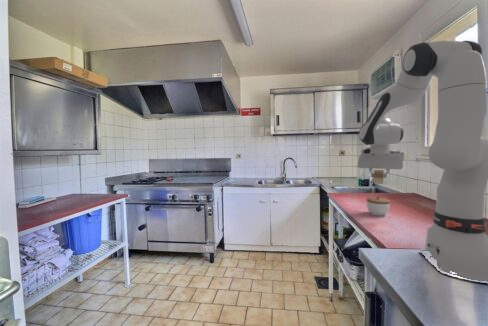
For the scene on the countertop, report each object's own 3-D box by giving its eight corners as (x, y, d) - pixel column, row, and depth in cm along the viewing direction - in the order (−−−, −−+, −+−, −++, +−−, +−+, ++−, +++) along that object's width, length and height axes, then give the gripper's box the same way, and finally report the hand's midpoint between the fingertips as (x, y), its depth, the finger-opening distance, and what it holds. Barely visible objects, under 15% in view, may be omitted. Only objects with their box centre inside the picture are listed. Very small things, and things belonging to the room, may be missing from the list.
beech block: (382, 183, 120) (383, 171, 119) (373, 183, 122) (374, 171, 121) (383, 180, 130) (383, 169, 129) (374, 180, 132) (375, 169, 132)
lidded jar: (392, 217, 121) (393, 199, 120) (369, 216, 123) (370, 198, 122) (385, 212, 131) (385, 194, 130) (363, 210, 133) (364, 194, 133)
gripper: (403, 150, 123) (401, 177, 124) (358, 150, 132) (357, 175, 133) (404, 150, 117) (403, 179, 118) (358, 150, 126) (357, 176, 127)
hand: (378, 177), depth 126 cm, fingers closed on beech block, 4 cm apart
